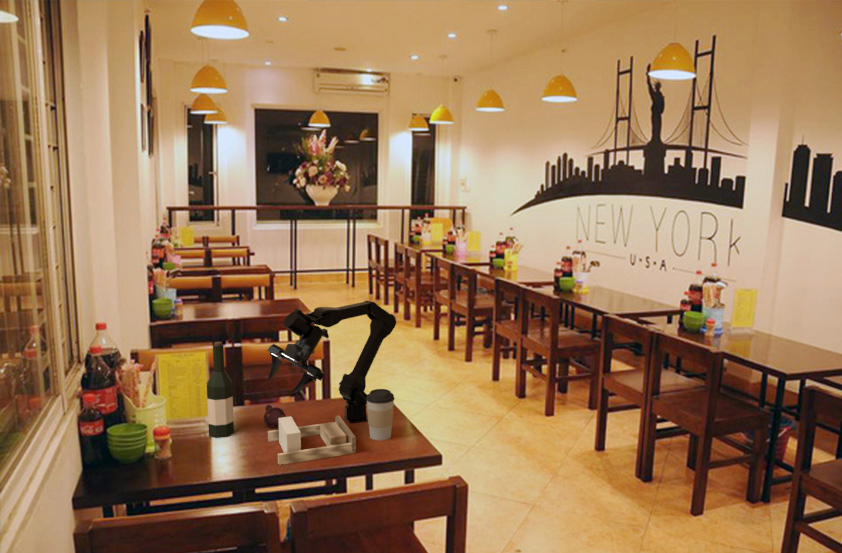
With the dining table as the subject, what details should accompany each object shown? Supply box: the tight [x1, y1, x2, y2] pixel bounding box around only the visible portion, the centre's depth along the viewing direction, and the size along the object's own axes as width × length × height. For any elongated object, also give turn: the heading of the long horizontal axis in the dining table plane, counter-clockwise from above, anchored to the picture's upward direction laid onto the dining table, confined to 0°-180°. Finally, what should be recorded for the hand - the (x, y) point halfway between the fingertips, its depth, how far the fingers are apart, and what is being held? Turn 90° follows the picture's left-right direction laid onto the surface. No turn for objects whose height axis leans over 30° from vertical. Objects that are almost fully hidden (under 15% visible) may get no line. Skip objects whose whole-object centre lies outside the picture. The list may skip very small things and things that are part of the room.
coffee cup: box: [366, 388, 395, 441], centre depth 204 cm, size 9×9×15 cm
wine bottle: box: [206, 341, 235, 439], centre depth 205 cm, size 8×8×30 cm
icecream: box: [263, 404, 287, 429], centre depth 212 cm, size 7×7×15 cm
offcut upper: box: [319, 421, 346, 446], centre depth 199 cm, size 5×12×2 cm, turn 24°
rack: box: [267, 415, 357, 466], centre depth 196 cm, size 23×19×5 cm
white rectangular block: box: [278, 416, 302, 453], centre depth 194 cm, size 4×14×8 cm, turn 22°
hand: (281, 386), depth 199 cm, fingers open, 9 cm apart
